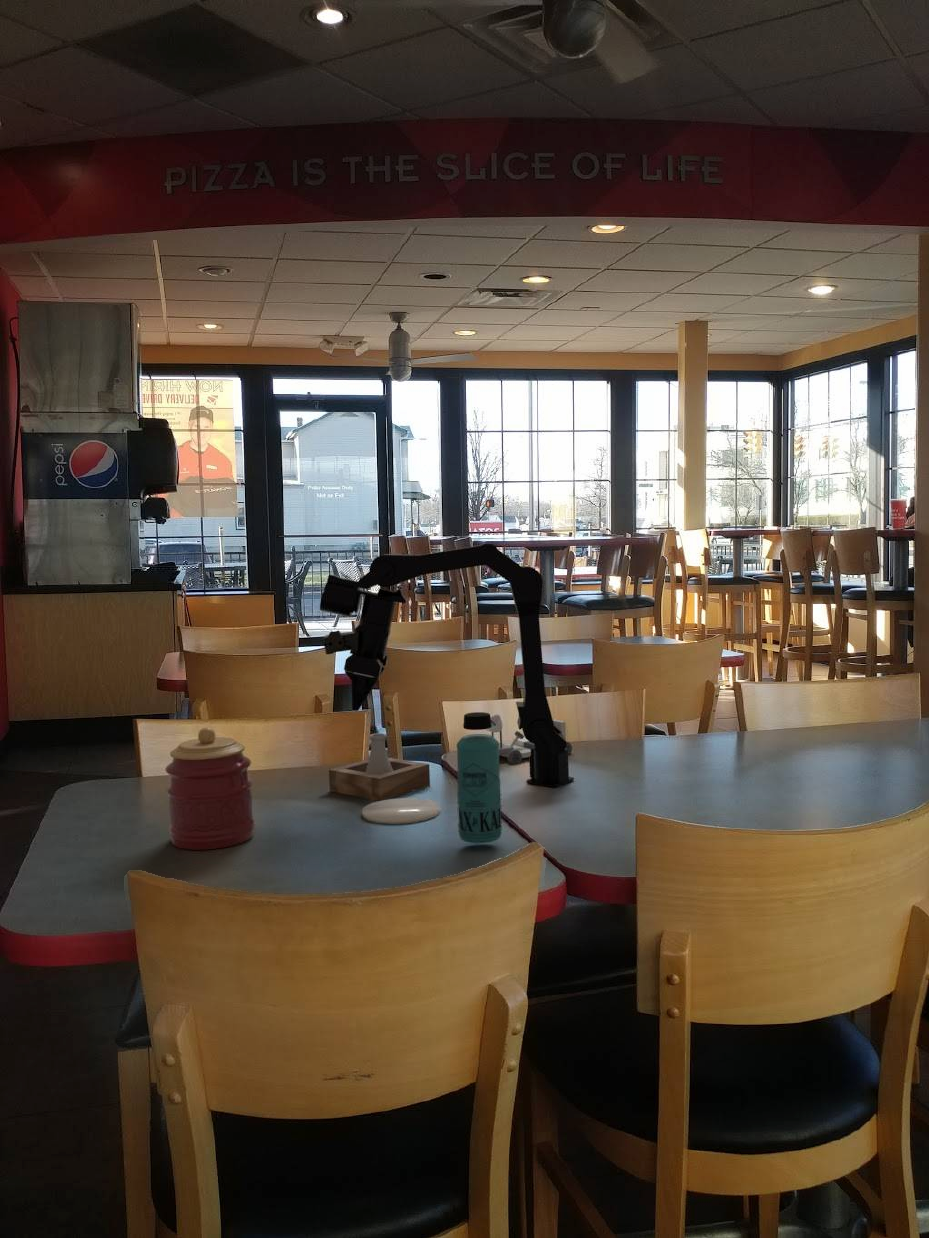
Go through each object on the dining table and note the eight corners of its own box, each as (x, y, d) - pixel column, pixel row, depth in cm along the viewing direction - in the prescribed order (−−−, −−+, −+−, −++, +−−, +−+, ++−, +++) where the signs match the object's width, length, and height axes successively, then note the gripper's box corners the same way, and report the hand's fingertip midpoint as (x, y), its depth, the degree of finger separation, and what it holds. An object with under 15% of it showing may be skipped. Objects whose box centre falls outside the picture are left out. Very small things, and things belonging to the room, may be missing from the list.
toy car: (496, 719, 204) (467, 711, 214) (498, 768, 205) (469, 758, 215) (571, 708, 213) (539, 701, 223) (572, 755, 214) (540, 746, 224)
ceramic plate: (456, 809, 174) (456, 804, 174) (402, 828, 164) (402, 823, 164) (400, 798, 182) (400, 794, 182) (346, 816, 173) (345, 811, 173)
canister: (176, 856, 154) (169, 739, 153) (164, 834, 166) (157, 725, 164) (263, 843, 159) (257, 729, 158) (245, 822, 171) (239, 717, 170)
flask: (393, 793, 186) (391, 739, 185) (355, 793, 188) (352, 738, 187) (404, 784, 193) (401, 731, 193) (367, 783, 195) (364, 731, 194)
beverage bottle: (457, 841, 156) (452, 710, 154) (500, 838, 157) (496, 708, 155) (460, 855, 150) (455, 718, 148) (506, 852, 150) (501, 715, 148)
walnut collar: (430, 785, 191) (429, 764, 191) (380, 801, 181) (379, 778, 181) (380, 776, 200) (379, 756, 199) (329, 791, 190) (328, 769, 190)
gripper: (338, 609, 197) (321, 688, 198) (324, 617, 178) (306, 705, 180) (395, 621, 197) (378, 701, 198) (388, 631, 179) (369, 718, 180)
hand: (357, 705), depth 189 cm, fingers open, 9 cm apart
